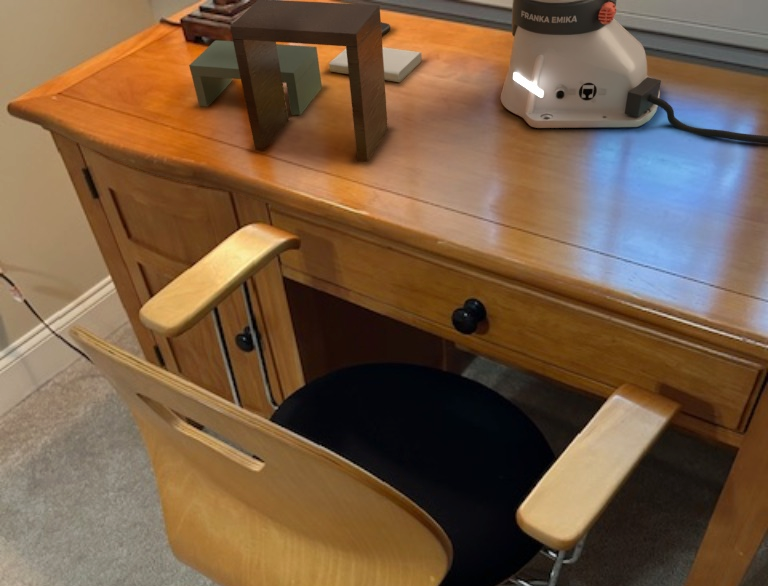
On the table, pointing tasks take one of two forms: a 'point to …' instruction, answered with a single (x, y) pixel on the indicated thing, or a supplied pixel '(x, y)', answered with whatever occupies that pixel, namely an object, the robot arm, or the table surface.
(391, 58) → the hard drive
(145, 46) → the table surface
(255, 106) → the high shelf
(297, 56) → the low shelf
